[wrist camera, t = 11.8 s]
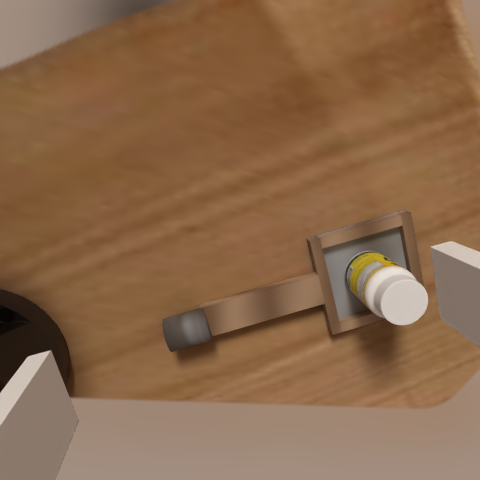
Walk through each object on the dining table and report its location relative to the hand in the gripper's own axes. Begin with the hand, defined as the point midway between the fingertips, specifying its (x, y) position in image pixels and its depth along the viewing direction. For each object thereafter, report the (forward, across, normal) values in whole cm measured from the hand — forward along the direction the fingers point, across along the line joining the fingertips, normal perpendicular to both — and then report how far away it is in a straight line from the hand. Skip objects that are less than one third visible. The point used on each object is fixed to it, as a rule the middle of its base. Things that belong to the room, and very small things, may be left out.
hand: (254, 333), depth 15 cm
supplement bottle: (+26, +13, -10) cm, 31 cm away
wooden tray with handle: (+27, +5, -10) cm, 29 cm away
